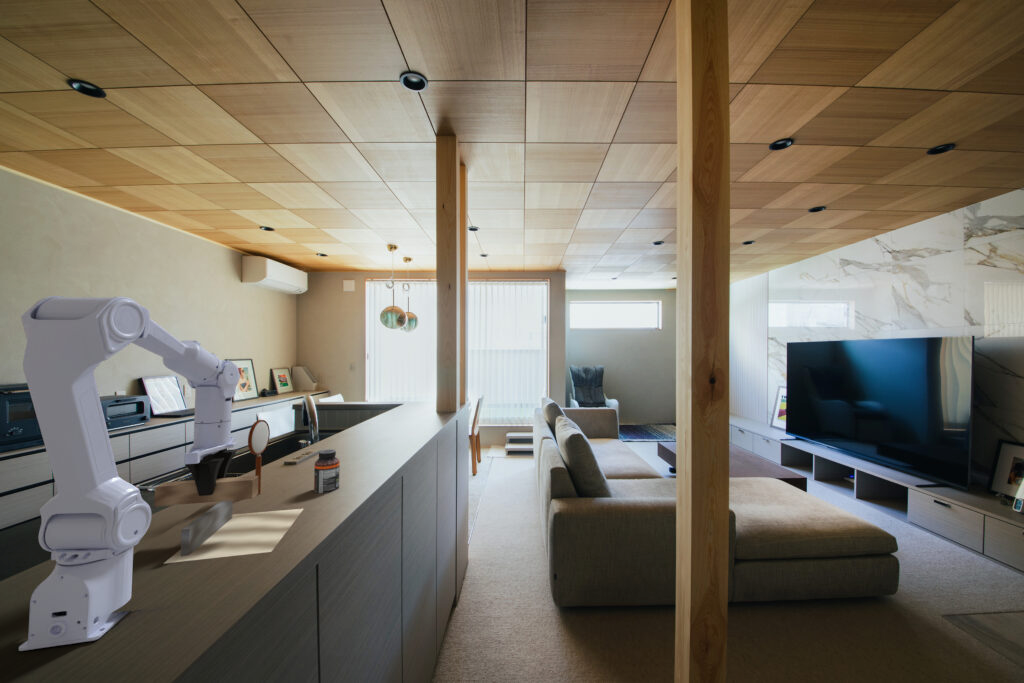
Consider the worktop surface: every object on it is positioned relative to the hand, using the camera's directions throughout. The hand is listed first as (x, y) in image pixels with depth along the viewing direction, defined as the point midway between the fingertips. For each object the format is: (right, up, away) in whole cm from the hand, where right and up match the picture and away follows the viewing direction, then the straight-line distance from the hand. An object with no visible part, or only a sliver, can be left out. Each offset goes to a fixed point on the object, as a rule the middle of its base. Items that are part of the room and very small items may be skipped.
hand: (210, 492), depth 74 cm
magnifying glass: (-5, -11, +22) cm, 25 cm away
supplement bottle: (+10, -11, +26) cm, 30 cm away
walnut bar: (0, -2, 0) cm, 2 cm away
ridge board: (+6, -10, +1) cm, 11 cm away
